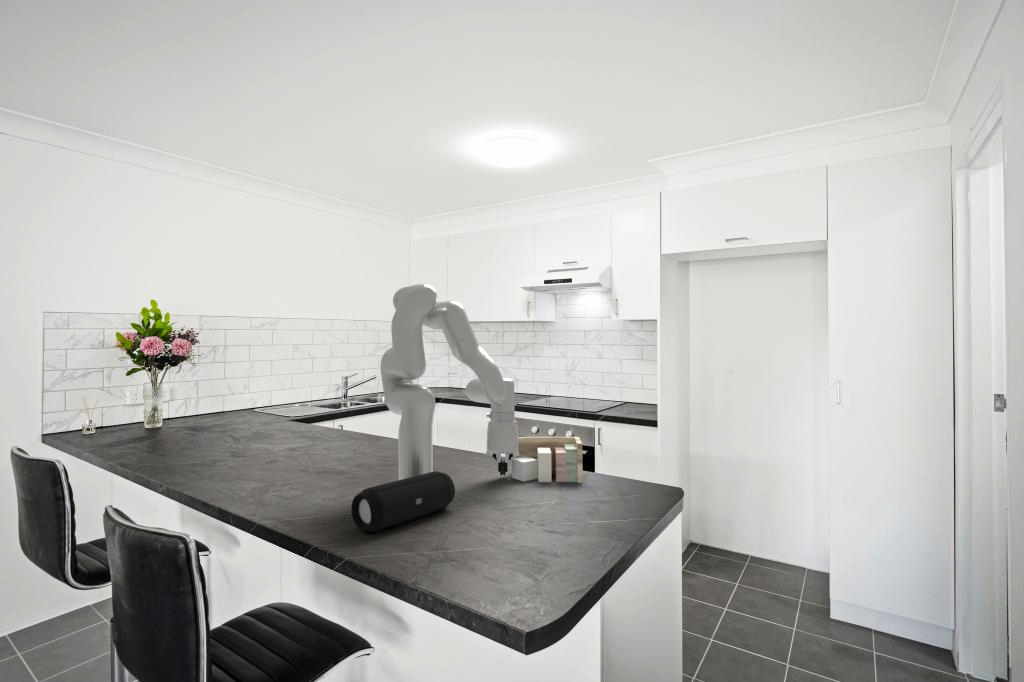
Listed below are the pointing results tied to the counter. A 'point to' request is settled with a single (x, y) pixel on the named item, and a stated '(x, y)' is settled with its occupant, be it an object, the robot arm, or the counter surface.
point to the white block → (544, 464)
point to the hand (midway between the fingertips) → (502, 474)
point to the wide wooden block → (557, 455)
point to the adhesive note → (524, 468)
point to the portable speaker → (402, 501)
